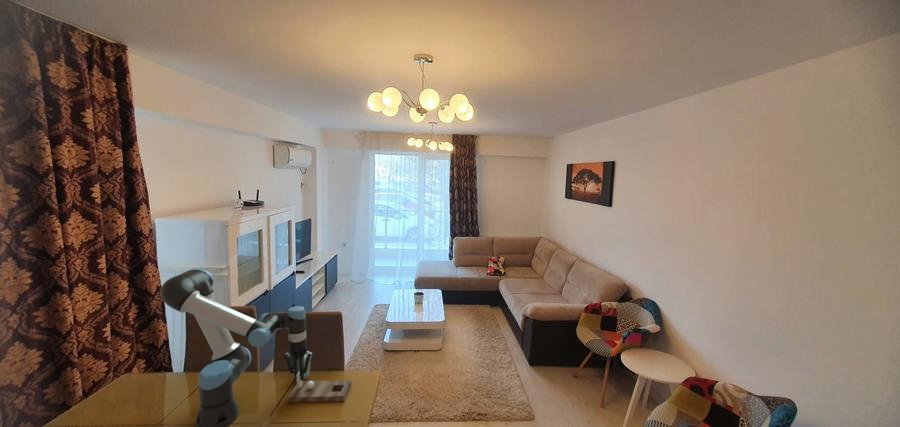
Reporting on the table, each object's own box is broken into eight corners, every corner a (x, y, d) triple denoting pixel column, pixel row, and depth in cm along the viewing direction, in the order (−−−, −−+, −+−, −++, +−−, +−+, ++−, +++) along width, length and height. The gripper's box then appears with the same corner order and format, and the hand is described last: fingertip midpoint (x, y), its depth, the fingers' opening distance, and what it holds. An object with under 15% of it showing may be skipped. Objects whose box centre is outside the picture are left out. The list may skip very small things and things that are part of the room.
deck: (288, 402, 152) (287, 397, 151) (298, 386, 163) (298, 381, 163) (344, 401, 153) (344, 396, 152) (351, 385, 165) (351, 380, 164)
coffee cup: (305, 382, 166) (304, 360, 165) (290, 380, 168) (289, 358, 167) (315, 373, 175) (314, 351, 173) (301, 370, 176) (300, 349, 175)
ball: (305, 391, 156) (304, 384, 155) (307, 386, 159) (307, 379, 159) (312, 390, 156) (312, 383, 156) (315, 386, 159) (315, 379, 159)
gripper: (280, 343, 151) (282, 391, 153) (308, 343, 151) (310, 390, 154) (287, 335, 158) (289, 381, 161) (314, 335, 159) (316, 380, 161)
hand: (299, 386), depth 157 cm, fingers closed
